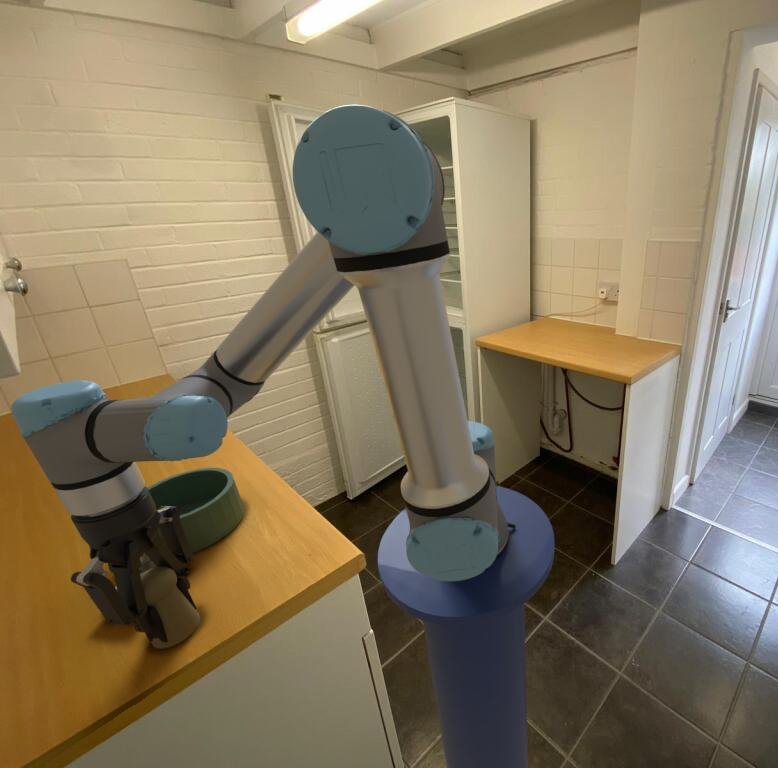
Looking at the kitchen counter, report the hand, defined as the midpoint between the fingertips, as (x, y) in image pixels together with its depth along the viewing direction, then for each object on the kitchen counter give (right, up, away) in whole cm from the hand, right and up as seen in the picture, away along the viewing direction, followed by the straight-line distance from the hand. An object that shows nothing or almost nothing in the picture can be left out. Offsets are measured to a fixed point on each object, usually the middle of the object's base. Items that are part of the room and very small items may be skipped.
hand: (173, 623), depth 63 cm
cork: (0, -1, +1) cm, 1 cm away
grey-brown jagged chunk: (-9, +1, +7) cm, 12 cm away
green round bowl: (-13, +8, +21) cm, 26 cm away
